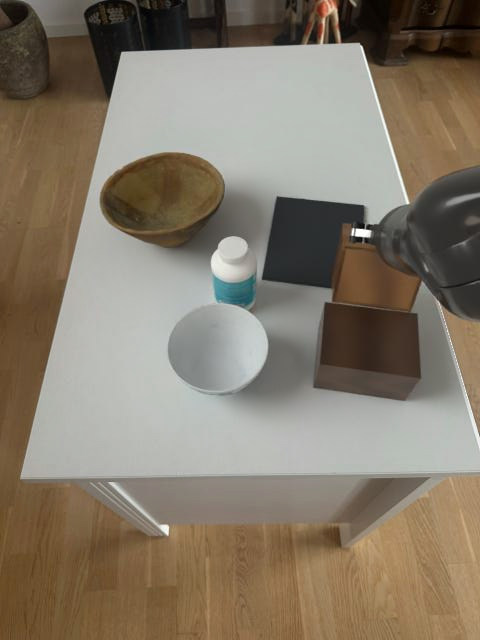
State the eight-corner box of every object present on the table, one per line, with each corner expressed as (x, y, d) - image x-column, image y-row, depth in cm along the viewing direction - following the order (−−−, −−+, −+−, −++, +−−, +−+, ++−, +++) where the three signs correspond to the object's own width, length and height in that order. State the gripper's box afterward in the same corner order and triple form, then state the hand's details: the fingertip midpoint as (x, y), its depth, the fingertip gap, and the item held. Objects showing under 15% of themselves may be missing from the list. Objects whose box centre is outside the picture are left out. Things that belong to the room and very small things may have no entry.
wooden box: (411, 312, 67) (405, 286, 72) (431, 254, 61) (423, 231, 66) (331, 302, 68) (331, 277, 74) (343, 244, 62) (342, 222, 67)
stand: (402, 340, 74) (417, 313, 67) (404, 401, 68) (421, 378, 61) (318, 328, 75) (324, 301, 68) (312, 387, 69) (319, 364, 63)
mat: (363, 207, 91) (364, 205, 90) (361, 292, 79) (361, 290, 79) (276, 198, 93) (276, 196, 92) (261, 279, 81) (261, 277, 81)
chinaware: (210, 431, 66) (206, 413, 59) (156, 362, 72) (147, 338, 66) (286, 374, 71) (289, 351, 64) (228, 314, 77) (226, 287, 71)
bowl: (120, 193, 95) (107, 153, 86) (226, 190, 95) (224, 149, 86) (105, 273, 83) (89, 235, 74) (227, 269, 83) (224, 231, 74)
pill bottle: (262, 308, 78) (265, 257, 66) (223, 321, 76) (218, 272, 65) (246, 277, 81) (246, 224, 70) (209, 289, 80) (202, 237, 69)
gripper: (493, 209, 44) (441, 213, 61) (359, 195, 46) (344, 204, 63) (476, 282, 46) (430, 267, 63) (348, 267, 48) (336, 256, 64)
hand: (387, 235), depth 63 cm, fingers closed
